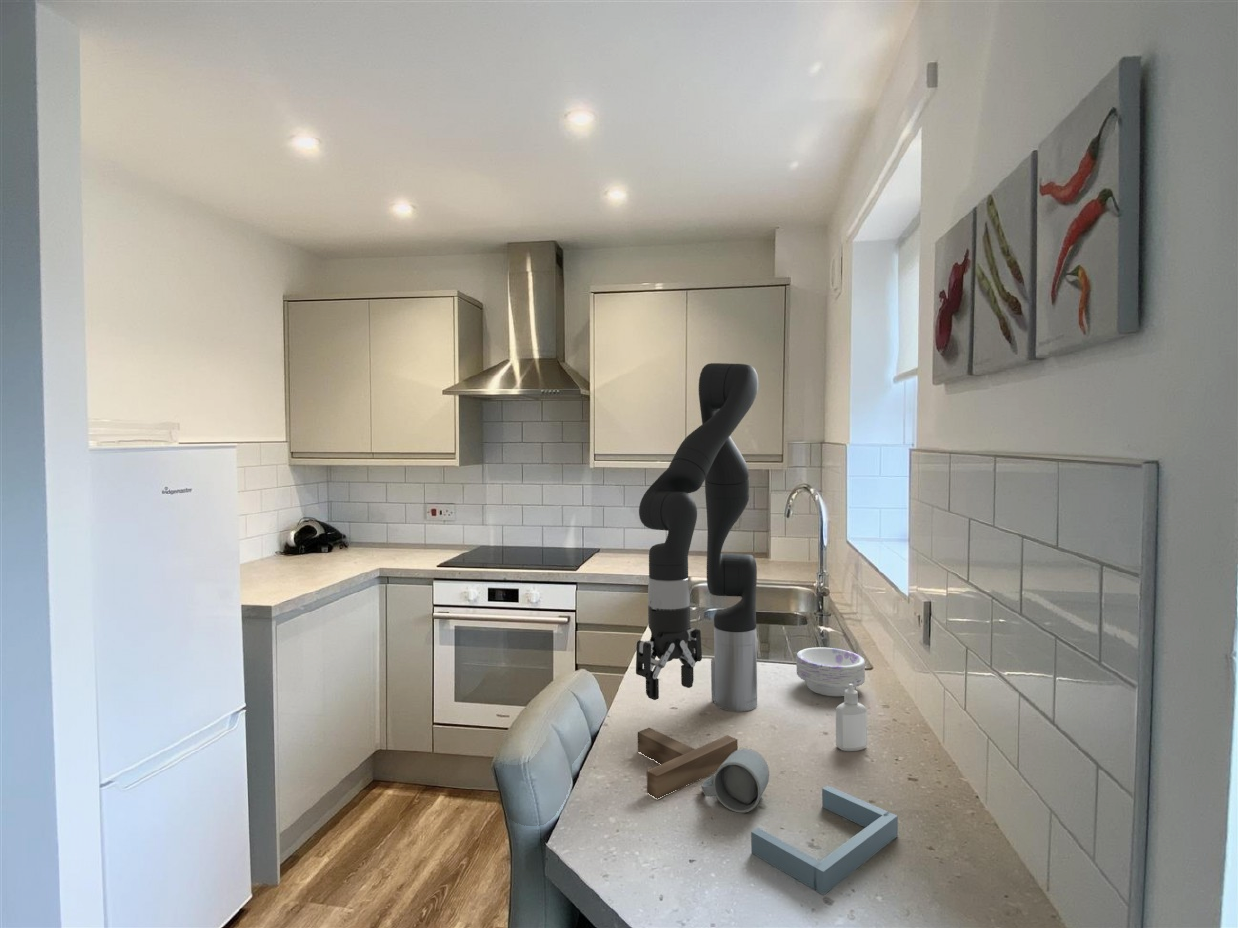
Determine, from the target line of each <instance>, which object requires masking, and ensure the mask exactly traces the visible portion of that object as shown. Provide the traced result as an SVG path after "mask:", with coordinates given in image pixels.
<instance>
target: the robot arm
mask: <svg viewBox="0 0 1238 928" xmlns="http://www.w3.org/2000/svg"><path fill="white" fill-rule="evenodd" d="M758 391H759V377H758V373H757V371H756V369H755V367H753V366H752V365H750V364H745V363H729V362H727V363H724V362H723V363H722V362H719V363H717V362H713V363H712V362H711V363H707V364H705V365H704V366H703V368H702V369H701V372H700V375H699V379H698V399H699V400H698V401H699V409H700V416H701V425H699V426H698V427H697V428H696V429H694V430H692V432H691V433H689V434H688V435H687V436H686V437H685V438H684V439H683V441H682V442H681V444H679V447H678V448H677V450H676V452H675V454H674V456H673V458H672V460H671V462H670V464H669V465H668V467H667V469H666V470H665V471H663V472H662V473H661V474H660V476H658V478H657V479H656V480H655V481H654V482H653V483H652V484H651V485H650V486H649V487H648V489H647V490H646V491H645V492H644V494H643V496H642V498H641V500H640V502H639V507H638V516H639V517H638V518H639V520H640V522H641V524H642V525H643V526H644V527H646V528H647V529H650V530H655V531H656V530H657V531H667V534H666V535H667V536H666V539H665V541H664V542H661V543H657V544H654V545H652V546H651V547H650V548H649V550H648V551H649V552H648V577H649V578H648V586H647V587H648V588H647V613H648V615H647V616H648V618H647V620H648V624H647V625H648V628H649V630H650V634H651V636H650V638H649V640H645V641H643V640H639V639H638V640H637V641H636V651H635V652H636V655H635V656H636V658H635V673H636V675H637V676H641V677H643V678H645V695H646V696H647V697H648V698H649V699H650V700H653V701H656V700H659V698H660V697H659V696H660V693H659V692H660V691H659V690H660V689H659V687H660V686H659V680H660V679H659V675H660V673H661V670H662V669H663V668H665V667H666V665H667V663H668V662H671V661H673V660H679V661H680V662H681V663H680V664H681V665H680V675H681V676H680V679H681V681H680V682H681V686H682V687H685V688H686V689H690V688H692V687H693V684H694V682H695V681H694V680H695V678H694V677H695V674H694V667H695V666H696V663H698V662H701V661H702V659H703V655H702V653H703V652H702V636H701V629H697V628H694V627H691V589H690V582H689V581H690V580H689V553H690V548H691V544H692V540H693V537H694V536H693V535H694V531H695V528H696V524H697V519H698V509H697V504H696V502H695V500H694V498H693V496H691V495H690V494H691V493H692V494H693V493H695V492H697V491H699V489H701V487H702V486H703V483H704V490H705V491H704V494H705V504H706V508H705V509H706V523H707V525H706V526H707V536H706V537H707V540H706V541H707V542H706V543H707V545H706V585H707V589H708V591H709V594H711V595H712V596H718V597H737V598H738V597H739V598H740V597H741V600H740V601H738V602H737V603H736V604H735V603H734V604H733V605H732V606H729V607H726V608H723V609H720V610H718V611H717V612H715V614H714V616H713V634H714V635H713V639H714V640H713V641H714V642H713V643H714V645H713V646H714V651H713V653H714V655H713V656H714V657H713V658H712V659H710V674H711V675H710V677H711V680H710V681H711V686H710V687H711V702H713V701H714V702H713V703H714V704H715V706H716V707H718V708H720V709H722V710H725V711H729V712H748V711H751V710H754V709H755V708H757V706H758V660H757V659H758V658H757V657H758V656H757V655H758V652H757V650H758V649H757V648H758V647H757V646H758V645H757V644H758V643H757V608H756V606H757V605H756V604H757V601H756V600H757V583H758V582H757V578H758V567H757V562H756V559H755V557H754V556H753V555H752V554H747V553H746V554H744V553H722V549H723V546H724V544H725V541H726V539H727V537H728V536H729V533H730V531H731V529H733V526H734V525H735V523H736V522H737V521H738V519H739V518H740V517H741V515H742V514H743V512H744V511H745V509H746V508H747V505H748V503H749V500H750V470H749V467H748V464H747V462H746V460H745V457H743V455H742V453H741V451H740V449H739V448H738V447H737V445H736V443H735V442H734V440H733V438H732V437H731V435H732V433H734V432H735V430H736V429H737V427H738V425H739V424H740V423H741V422H742V420H743V419H744V417H745V416H746V415H747V413H748V412H749V410H750V409H751V407H753V404H754V403H755V400H756V398H757V395H758ZM656 658H657V659H656ZM658 659H659V660H658Z"/></svg>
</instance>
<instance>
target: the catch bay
mask: <svg viewBox="0 0 1238 928" xmlns="http://www.w3.org/2000/svg"><path fill="white" fill-rule="evenodd" d="M821 792H822V793H821V796H822V797H821V799H822V802H821V803H822V808H823V809H826V810H827V811H830V812H832V813H834V814H836V815H838V816H840V817H842V818H844V819H846V820H849V821H851V822H852V823H855V824H858V826H862V827H864V828H862V830H861V831H859V832H858V833H856V834H854V836H852V837H851V838H850V839H848V840H847V841H845V842H844V843H843V844H841V845H840V846H838V847H837V848H836V849H835V850H833V851H831V853H829V854H828V855H826V856H824V857H823V858H822V859H820V860H819V859H817V858H814V857H813V856H811V855H810V854H807V853H806V852H804V851H801V850H800V849H798V848H796V847H794V846H793V845H791V844H789V843H788V842H786V841H783V840H781V839H780V838H778V837H776V836H774V835H772V834H770V833H769V832H767V831H764V829H761V828H759V827H756V828H755V829H754V830H751V832H750V837H751V838H750V840H751V843H750V844H751V848H750V849H751V854H752V855H754V856H756V857H758V858H760V859H762V860H763V861H765V862H766V863H768V864H770V865H772V866H773V867H775V868H777V869H778V870H780V871H781V872H784V873H785V874H786V875H789V876H790V877H791V878H794V879H795V880H797V881H799V882H800V883H802V884H804V885H806V886H807V887H809V888H811V889H812V890H814V891H816V892H818V893H819V894H821V895H823V896H824V895H826V894H827V893H828V892H829V891H831V890H832V889H833V888H834V887H835V886H837V885H838V884H840V883H841V882H842V881H843V880H844V879H846V878H847V877H848V876H850V875H851V874H852V873H854V871H856V870H857V869H858V868H859V867H861V866H862V865H863V864H865V863H866V862H867V861H868V860H870V859H871V858H872V857H873V856H874V855H876V854H877V853H879V851H881V850H882V849H884V847H886V846H887V845H888V844H890V843H891V842H893V841H894V840H895V839H896V838H897V837H898V836H899V835H898V833H899V832H898V831H899V828H898V827H899V823H898V815H897V814H894V813H892V812H890V811H888V810H885V809H883V808H881V807H878V806H876V805H874V804H872V803H869V802H866V801H865V800H863V799H859V798H857V797H855V796H853V795H851V794H848V793H846V792H844V791H842V790H839V789H837V788H836V787H833V786H830V785H828V784H827V785H826V786H824V787H822V788H821Z"/></svg>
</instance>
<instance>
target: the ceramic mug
mask: <svg viewBox="0 0 1238 928" xmlns="http://www.w3.org/2000/svg"><path fill="white" fill-rule="evenodd" d="M769 769H770V768H769V764H768V763H767V761H766V759H765V758H764V757H763V756H762V754H761V753H759V752H758V751H756V750H755V749H751V748H748V747H747V748H745V747H744V748H743V747H742V748H739V749H738V750H737V751H735V752H733V753H732V754H731V755H730V756H729V757H728V758H727V759H726V760H725V761H724V762H723V763H722V765H721V766H720V767H719V768H718V769H717V771H716V772H714V775H712V776H710V777H708V778H706V779H705V780H704V781H703V782H702V783H701V790H702V792H703V794H704V796H706V797H716V798H717V799H718V801H719V803H720V804H722V806H724V807H725V808H726V809H728V810H730V811H732V812H735V813H741V814H742V813H743V814H744V813H749V812H751V811H752V810H754V809H756V807H757V805H758V804H759V802H760V801H761V797H762V796H763V794H764V792H765V790H766V789H767V786H768V783H769V780H770V770H769Z"/></svg>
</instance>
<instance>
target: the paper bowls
mask: <svg viewBox="0 0 1238 928" xmlns="http://www.w3.org/2000/svg"><path fill="white" fill-rule="evenodd" d="M865 663H866V661H865V659H864V657H862V655H860V654H857V653H855V652H852V651H848V650H845V649H841V648H836V647H835V648H834V647H833V648H832V647H824V646H823V647H822V646H821V647H818V646H817V647H808V648H803V649H801V650H799V651H798V652H797V654H796V665H795V666H796V675H797V677H798V678H800V679H801V680H803V681H804V683H805V684H806V686H807V688H808V689H809V690H810V691H812V692H814V693H816V694H819V695H823V696H828V697H844V691H845V690H846V689H848V687H849V684H853V687H854V690H856V688H857V687H860V686H862V685H864V684H865V682H866V671H865V670H866V664H865Z"/></svg>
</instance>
